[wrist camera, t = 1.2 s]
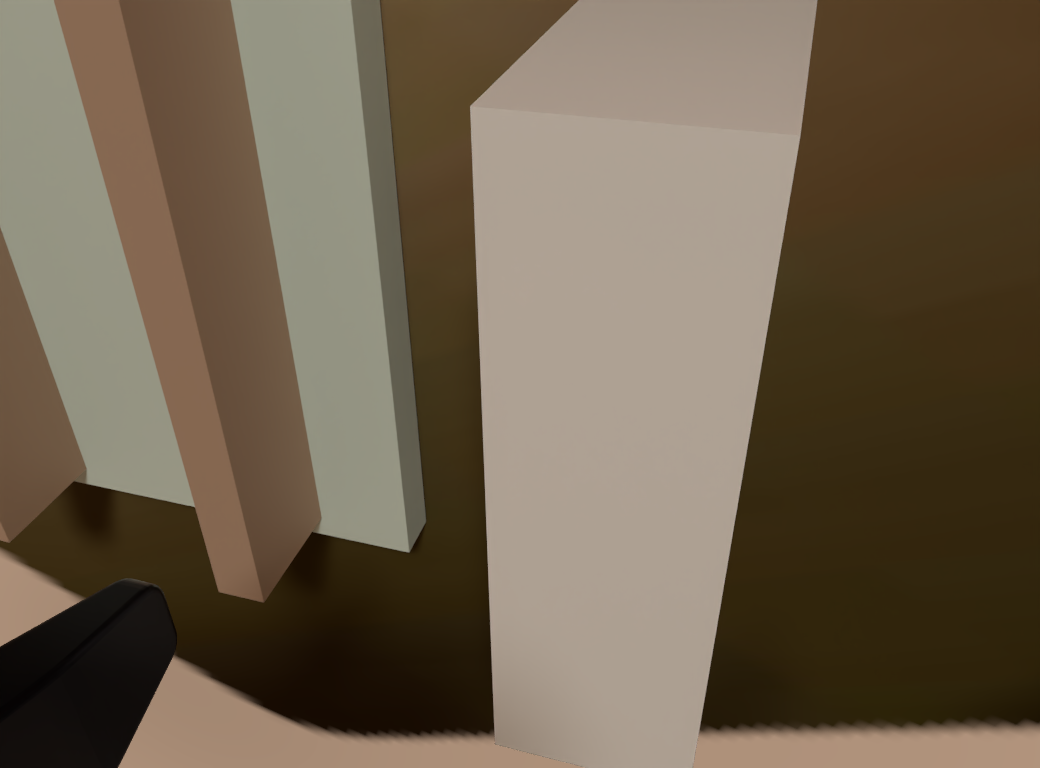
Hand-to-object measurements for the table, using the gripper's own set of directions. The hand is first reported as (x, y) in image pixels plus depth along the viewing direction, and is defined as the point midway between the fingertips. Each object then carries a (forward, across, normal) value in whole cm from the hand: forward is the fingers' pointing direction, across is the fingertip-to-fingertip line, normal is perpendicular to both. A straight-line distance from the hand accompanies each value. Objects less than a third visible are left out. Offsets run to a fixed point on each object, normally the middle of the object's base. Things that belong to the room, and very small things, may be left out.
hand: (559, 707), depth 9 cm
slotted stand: (+8, +11, 0) cm, 14 cm away
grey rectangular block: (+9, 0, 0) cm, 9 cm away
